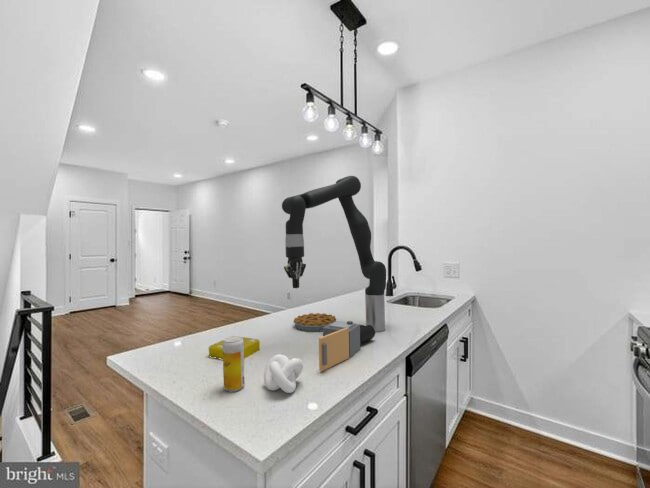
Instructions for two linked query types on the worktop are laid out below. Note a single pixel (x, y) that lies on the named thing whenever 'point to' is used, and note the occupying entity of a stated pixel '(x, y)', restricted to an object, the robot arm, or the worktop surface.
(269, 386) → the white decorative knot
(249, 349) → the element tile
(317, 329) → the pie
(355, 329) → the grey matte box
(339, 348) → the side door
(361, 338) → the end cap
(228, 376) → the amber medicine vial
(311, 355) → the worktop surface
